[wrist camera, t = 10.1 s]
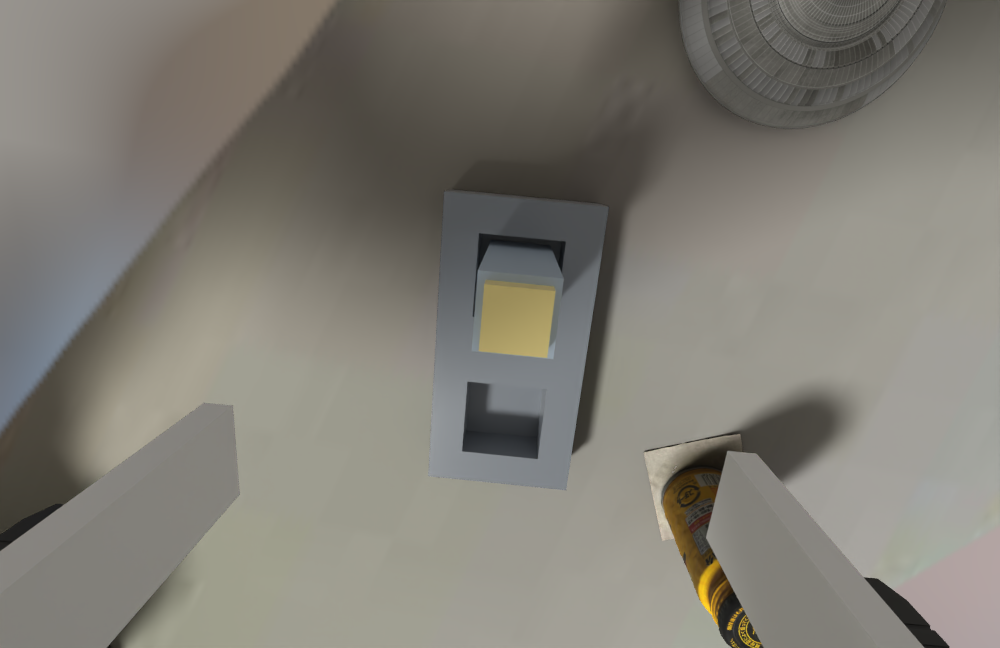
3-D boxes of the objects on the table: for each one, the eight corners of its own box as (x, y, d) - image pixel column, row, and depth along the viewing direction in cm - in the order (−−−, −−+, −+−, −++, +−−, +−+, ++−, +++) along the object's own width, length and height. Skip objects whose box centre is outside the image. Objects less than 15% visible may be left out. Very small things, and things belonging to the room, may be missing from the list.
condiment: (661, 539, 41) (716, 682, 29) (643, 451, 39) (694, 569, 27) (751, 522, 40) (844, 662, 29) (738, 431, 38) (833, 544, 26)
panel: (436, 450, 39) (428, 475, 36) (451, 189, 33) (444, 191, 30) (562, 463, 39) (565, 490, 36) (600, 203, 33) (609, 206, 30)
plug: (486, 296, 35) (469, 358, 23) (491, 239, 34) (476, 274, 22) (543, 302, 35) (554, 366, 23) (550, 245, 34) (565, 283, 22)
